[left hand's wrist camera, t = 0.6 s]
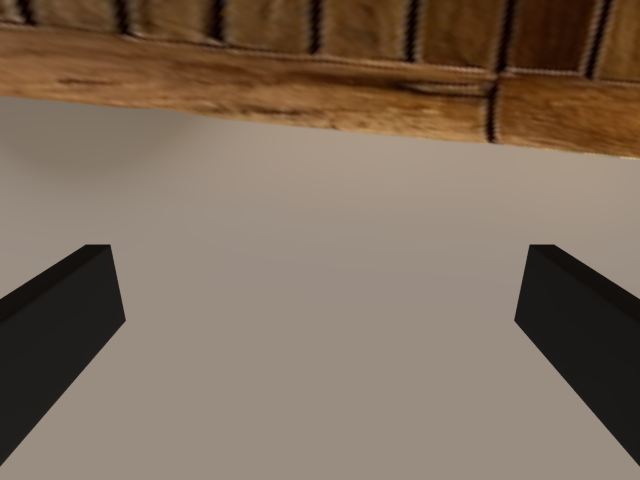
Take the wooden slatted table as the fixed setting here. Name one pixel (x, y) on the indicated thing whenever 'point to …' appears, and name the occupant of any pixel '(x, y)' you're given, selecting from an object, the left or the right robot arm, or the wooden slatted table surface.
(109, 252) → the left robot arm
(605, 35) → the wooden slatted table surface
